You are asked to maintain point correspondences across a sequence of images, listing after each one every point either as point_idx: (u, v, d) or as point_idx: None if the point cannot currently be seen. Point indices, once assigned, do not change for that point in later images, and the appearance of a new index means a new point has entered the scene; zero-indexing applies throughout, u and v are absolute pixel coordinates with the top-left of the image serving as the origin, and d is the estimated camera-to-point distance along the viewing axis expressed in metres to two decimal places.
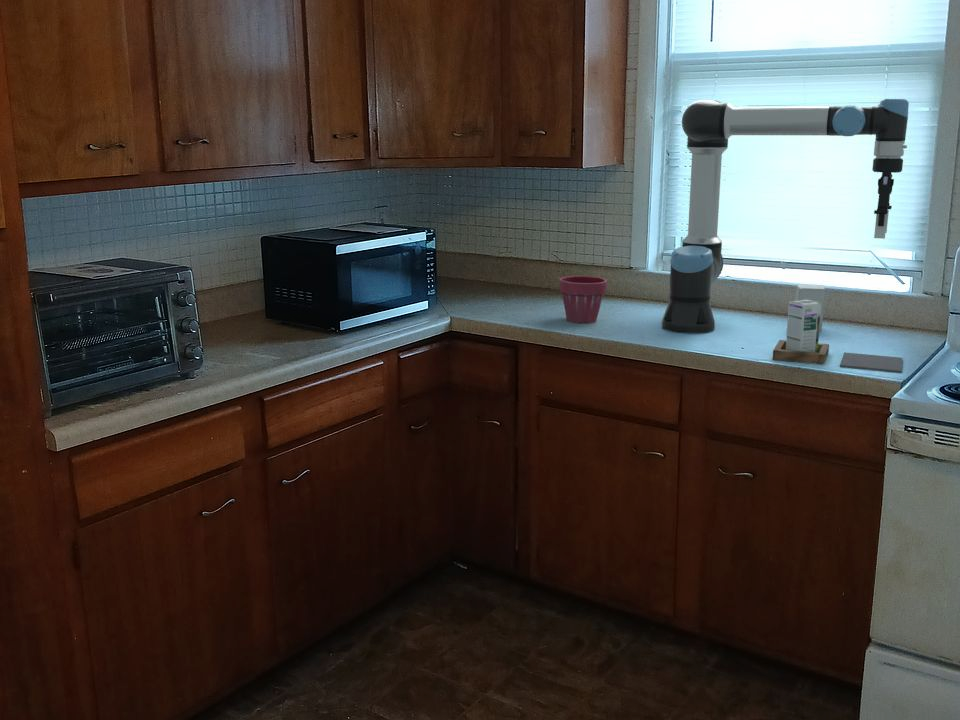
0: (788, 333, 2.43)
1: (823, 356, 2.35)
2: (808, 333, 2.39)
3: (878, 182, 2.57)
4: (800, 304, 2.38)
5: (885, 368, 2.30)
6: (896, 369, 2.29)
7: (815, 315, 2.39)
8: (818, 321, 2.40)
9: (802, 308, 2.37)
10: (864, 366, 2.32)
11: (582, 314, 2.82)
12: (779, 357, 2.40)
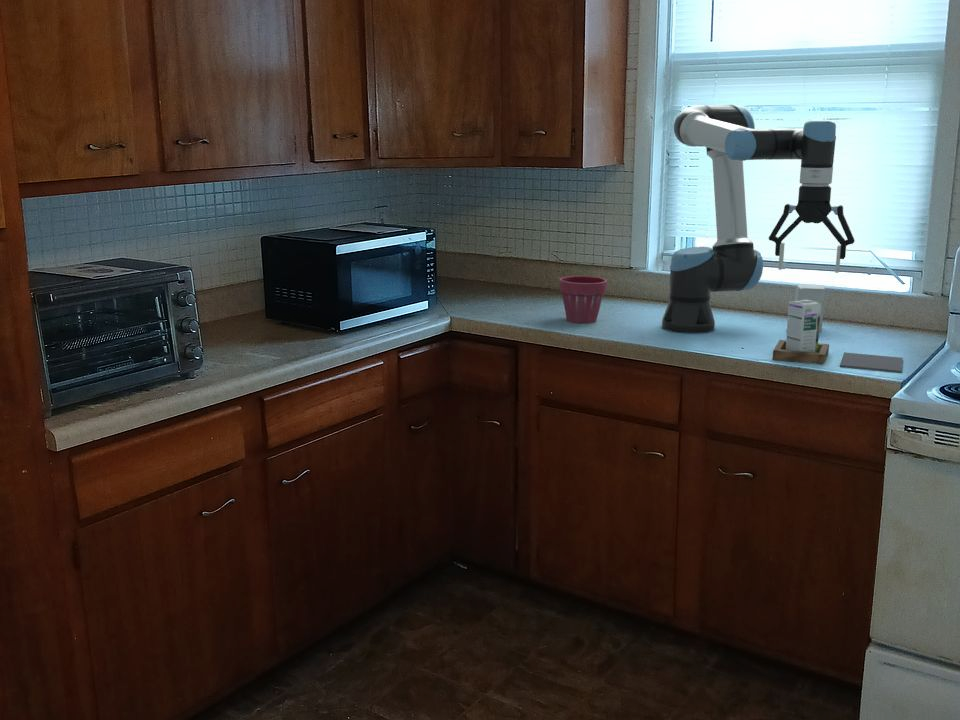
0: (788, 333, 2.43)
1: (823, 356, 2.35)
2: (808, 333, 2.39)
3: None
4: (800, 304, 2.38)
5: (885, 368, 2.30)
6: (896, 369, 2.29)
7: (814, 315, 2.39)
8: (818, 321, 2.40)
9: (802, 308, 2.37)
10: (864, 366, 2.32)
11: (582, 314, 2.82)
12: (779, 357, 2.40)
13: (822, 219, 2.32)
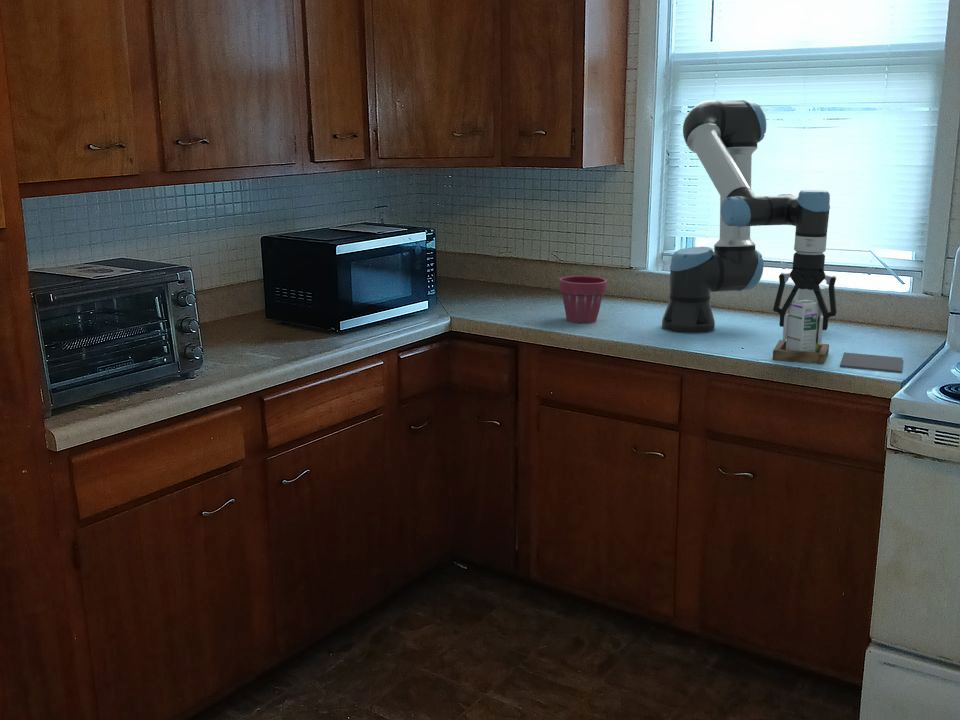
0: (788, 333, 2.43)
1: (823, 356, 2.35)
2: (808, 333, 2.39)
3: None
4: (800, 304, 2.38)
5: (885, 368, 2.30)
6: (896, 369, 2.29)
7: (815, 315, 2.39)
8: (818, 321, 2.40)
9: (802, 308, 2.37)
10: (864, 366, 2.32)
11: (582, 314, 2.82)
12: (779, 357, 2.40)
13: (813, 287, 2.37)
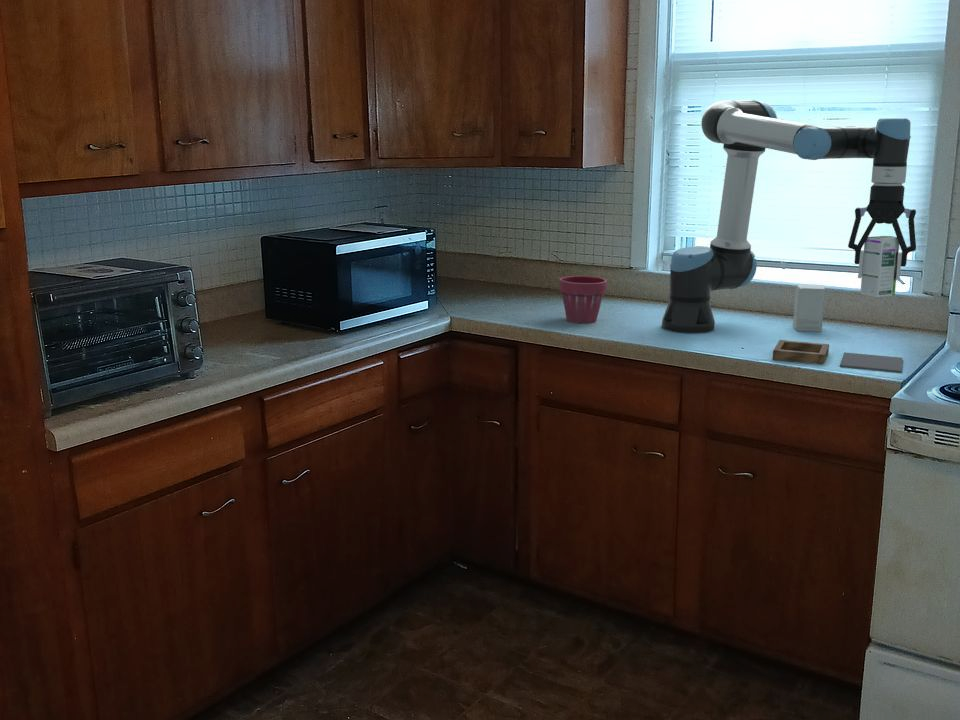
0: (864, 271, 2.32)
1: (823, 356, 2.35)
2: (886, 270, 2.28)
3: None
4: (878, 239, 2.27)
5: (885, 368, 2.30)
6: (896, 369, 2.29)
7: (893, 250, 2.28)
8: (896, 256, 2.28)
9: (880, 243, 2.26)
10: (864, 366, 2.32)
11: (582, 314, 2.82)
12: (779, 357, 2.40)
13: (892, 220, 2.26)
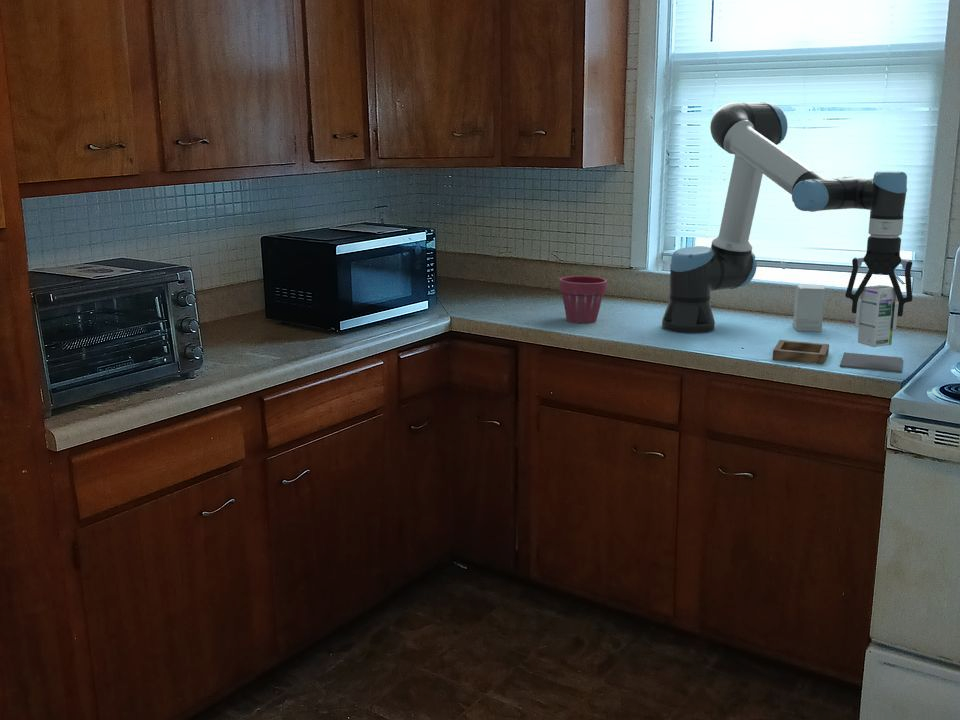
0: (861, 320, 2.35)
1: (823, 356, 2.35)
2: (883, 319, 2.31)
3: None
4: (875, 289, 2.30)
5: (885, 368, 2.30)
6: (896, 369, 2.29)
7: (890, 300, 2.31)
8: (893, 306, 2.31)
9: (877, 293, 2.29)
10: (864, 366, 2.32)
11: (582, 314, 2.82)
12: (779, 357, 2.40)
13: (889, 272, 2.29)
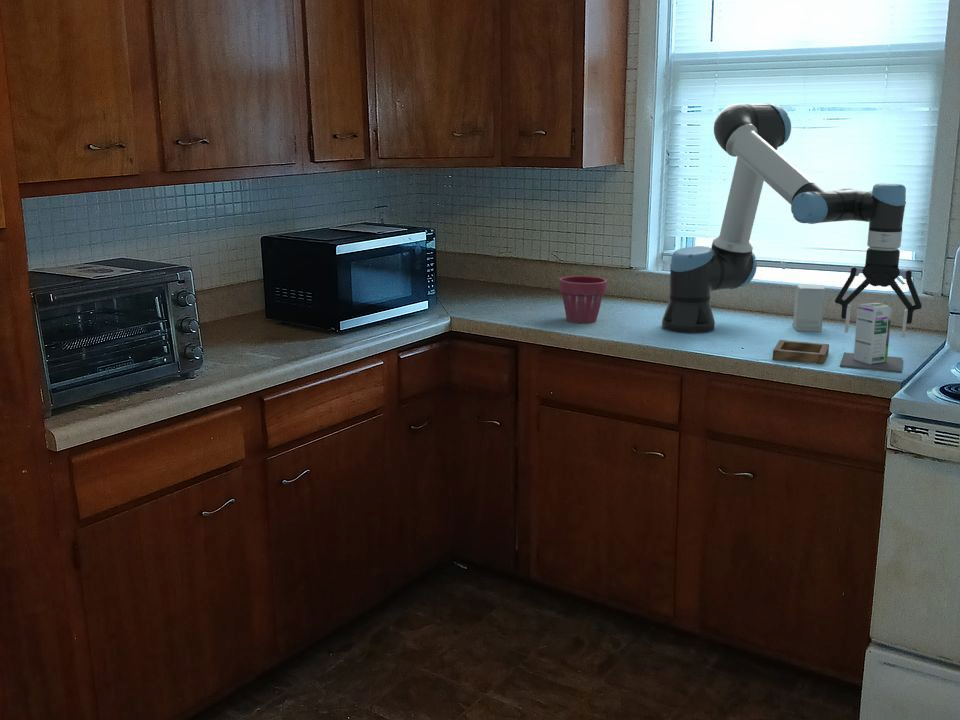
0: (857, 337, 2.36)
1: (823, 356, 2.35)
2: (878, 337, 2.32)
3: None
4: (871, 307, 2.31)
5: (885, 368, 2.30)
6: (896, 369, 2.29)
7: (885, 318, 2.32)
8: (888, 324, 2.33)
9: (873, 311, 2.31)
10: (864, 366, 2.32)
11: (582, 314, 2.82)
12: (779, 357, 2.40)
13: (890, 283, 2.29)
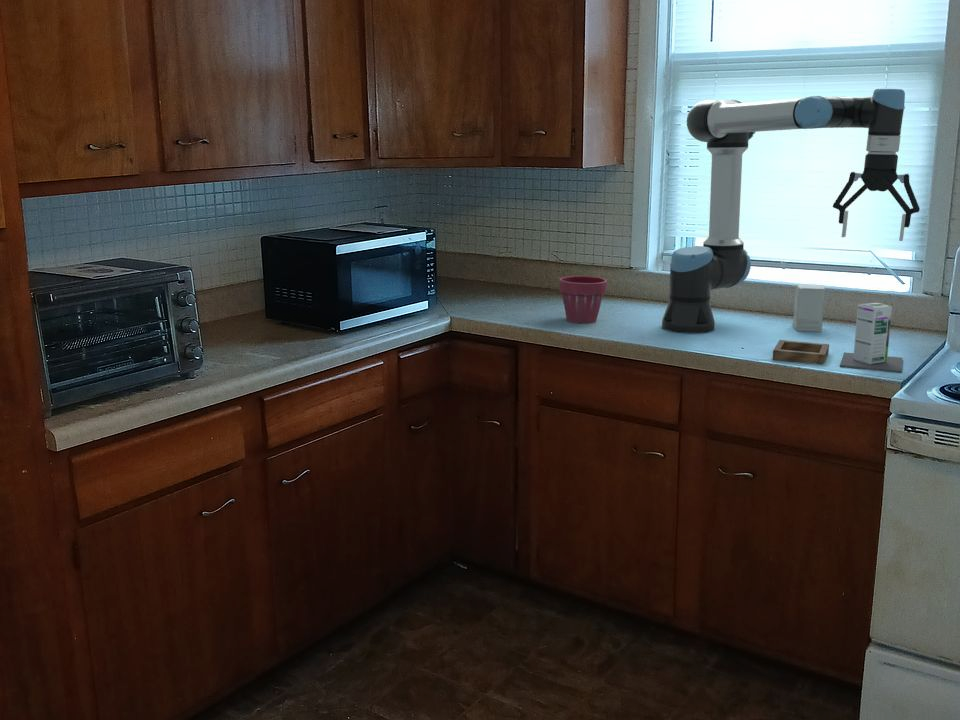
0: (857, 337, 2.36)
1: (823, 356, 2.35)
2: (878, 337, 2.32)
3: None
4: (871, 307, 2.31)
5: (885, 368, 2.30)
6: (896, 369, 2.29)
7: (885, 318, 2.32)
8: (888, 324, 2.33)
9: (873, 311, 2.31)
10: (864, 366, 2.32)
11: (582, 314, 2.82)
12: (779, 357, 2.40)
13: (888, 187, 2.34)
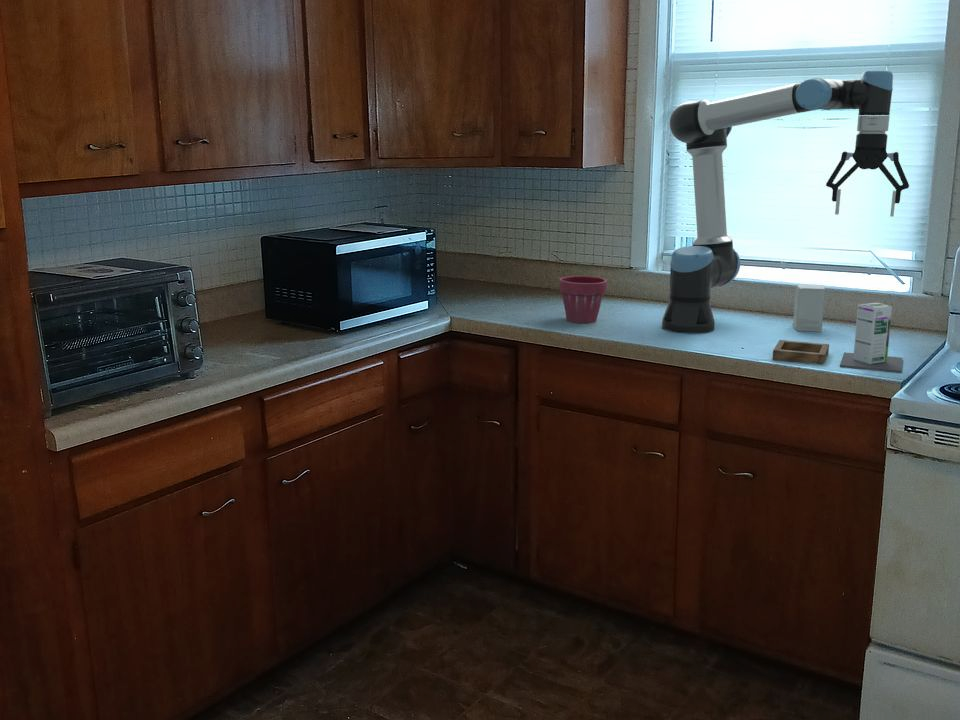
0: (857, 337, 2.36)
1: (823, 356, 2.35)
2: (878, 337, 2.32)
3: None
4: (871, 307, 2.31)
5: (885, 368, 2.30)
6: (896, 369, 2.29)
7: (885, 318, 2.32)
8: (888, 324, 2.33)
9: (873, 311, 2.31)
10: (864, 366, 2.32)
11: (582, 314, 2.82)
12: (779, 357, 2.40)
13: (878, 165, 2.44)
